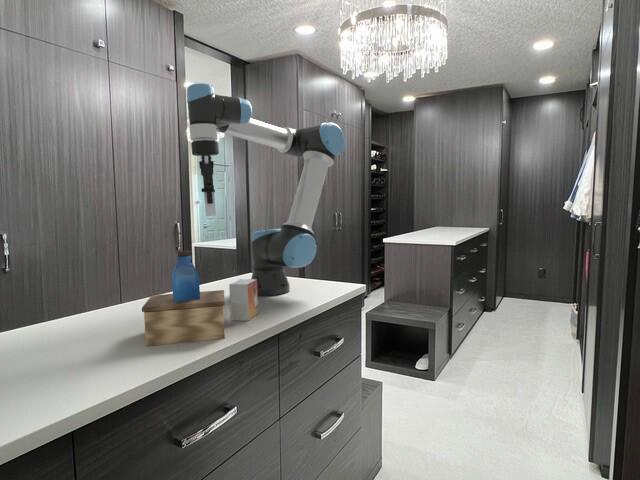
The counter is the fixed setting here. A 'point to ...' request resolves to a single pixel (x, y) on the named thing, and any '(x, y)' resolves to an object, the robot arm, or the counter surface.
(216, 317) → the box
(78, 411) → the counter surface
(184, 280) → the perfume bottle
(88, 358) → the counter surface
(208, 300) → the lid
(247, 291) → the small box
